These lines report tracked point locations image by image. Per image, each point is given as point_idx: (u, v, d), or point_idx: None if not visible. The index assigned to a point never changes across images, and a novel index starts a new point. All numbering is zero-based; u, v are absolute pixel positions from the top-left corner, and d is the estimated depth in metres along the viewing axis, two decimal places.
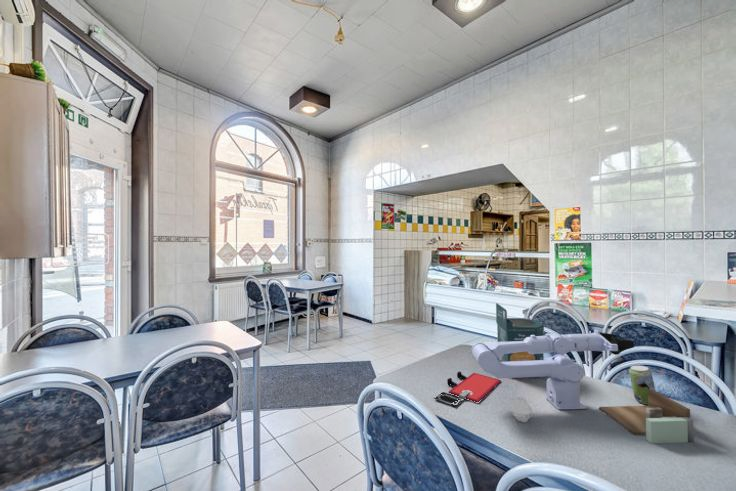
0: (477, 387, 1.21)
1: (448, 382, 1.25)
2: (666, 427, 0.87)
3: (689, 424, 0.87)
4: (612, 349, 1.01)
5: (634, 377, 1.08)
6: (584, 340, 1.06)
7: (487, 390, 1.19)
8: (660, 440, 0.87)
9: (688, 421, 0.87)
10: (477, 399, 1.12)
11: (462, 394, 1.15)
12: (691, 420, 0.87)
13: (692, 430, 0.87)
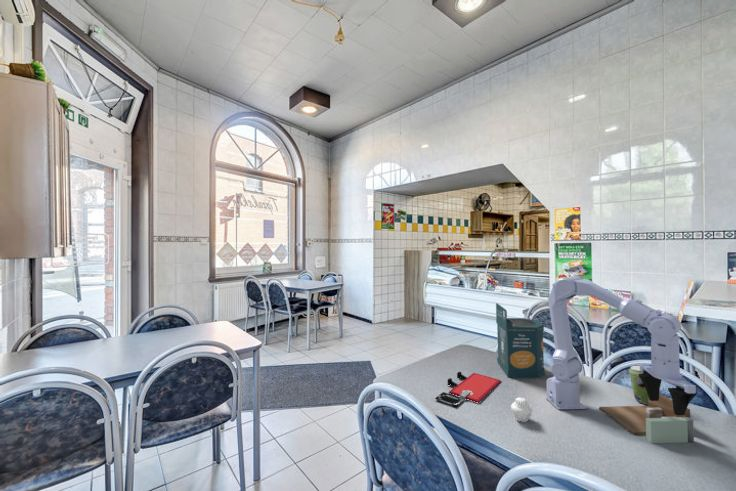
0: (477, 387, 1.21)
1: (448, 382, 1.25)
2: (666, 427, 0.87)
3: (689, 424, 0.87)
4: (689, 386, 0.81)
5: (634, 377, 1.08)
6: (669, 358, 0.85)
7: (487, 390, 1.19)
8: (660, 440, 0.87)
9: (688, 421, 0.87)
10: (477, 399, 1.12)
11: (462, 394, 1.15)
12: (691, 420, 0.87)
13: (692, 430, 0.87)
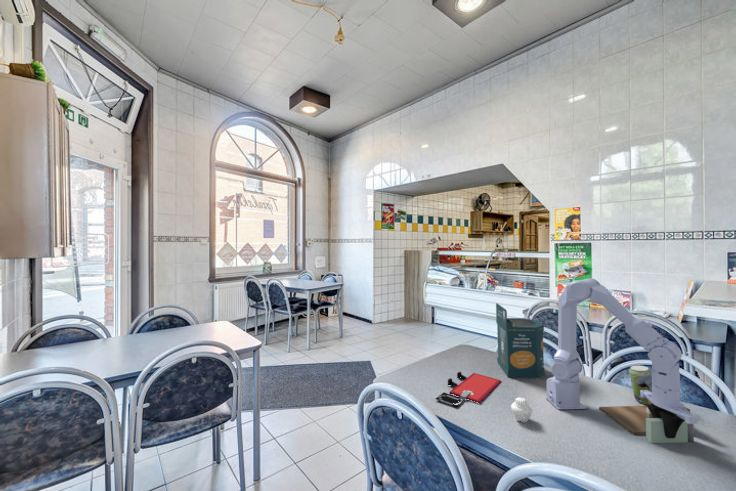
0: (478, 387, 1.21)
1: (448, 382, 1.25)
2: None
3: (689, 424, 0.87)
4: (690, 417, 0.81)
5: (634, 377, 1.08)
6: (670, 386, 0.85)
7: (488, 390, 1.19)
8: (660, 440, 0.87)
9: None
10: (478, 399, 1.12)
11: (463, 394, 1.14)
12: None
13: (692, 430, 0.87)
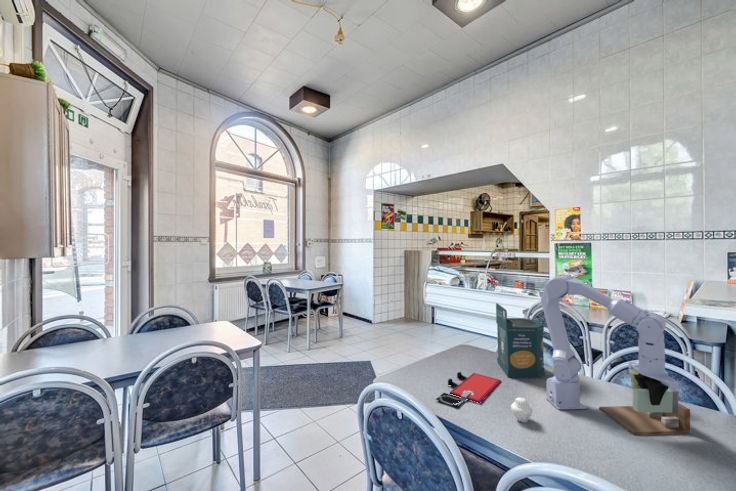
0: (478, 387, 1.21)
1: (449, 383, 1.24)
2: None
3: (675, 395, 0.91)
4: (673, 383, 0.85)
5: None
6: (656, 356, 0.89)
7: (488, 390, 1.18)
8: (646, 409, 0.91)
9: (673, 392, 0.91)
10: (479, 399, 1.12)
11: (463, 395, 1.14)
12: (676, 392, 0.91)
13: (677, 401, 0.91)
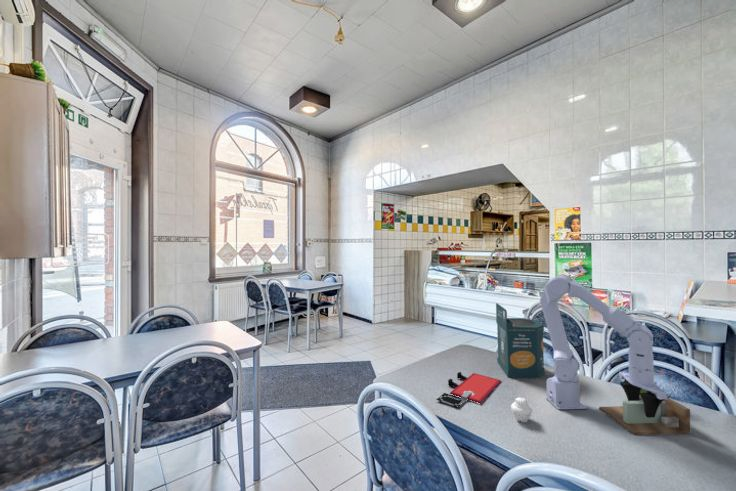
0: (478, 387, 1.21)
1: (449, 383, 1.24)
2: (641, 409, 0.95)
3: (662, 406, 0.95)
4: (661, 393, 0.89)
5: None
6: (647, 367, 0.93)
7: (488, 390, 1.18)
8: (635, 421, 0.95)
9: (661, 403, 0.95)
10: (479, 400, 1.11)
11: (464, 395, 1.14)
12: (664, 402, 0.95)
13: (665, 411, 0.95)
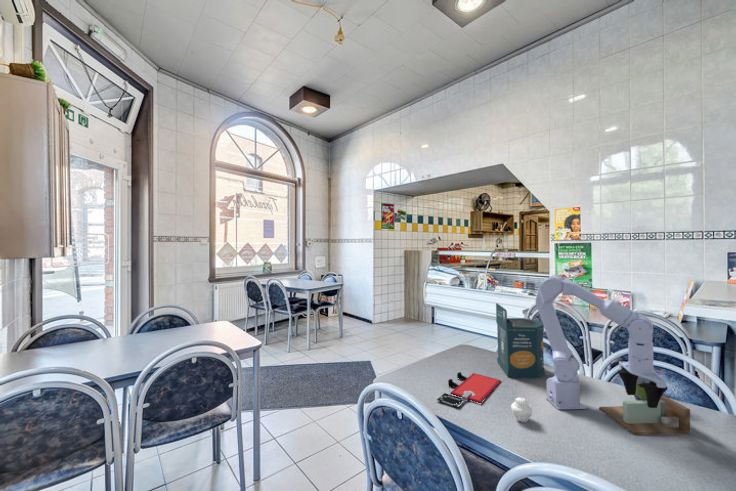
0: (478, 388, 1.21)
1: (449, 383, 1.24)
2: (641, 409, 0.95)
3: (662, 406, 0.95)
4: (660, 381, 0.89)
5: None
6: (646, 356, 0.93)
7: (488, 390, 1.18)
8: (635, 421, 0.95)
9: (661, 403, 0.95)
10: (480, 400, 1.11)
11: (464, 395, 1.14)
12: (664, 402, 0.95)
13: (665, 411, 0.95)
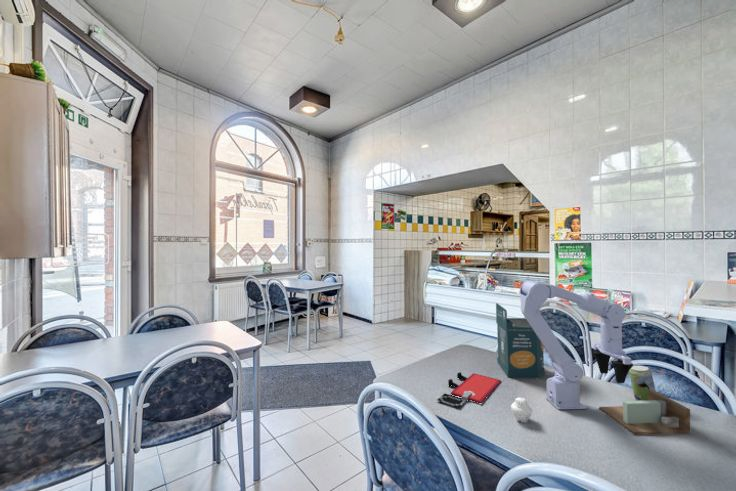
0: (478, 388, 1.21)
1: (449, 383, 1.24)
2: (641, 409, 0.95)
3: (662, 406, 0.95)
4: (626, 359, 1.00)
5: (634, 377, 1.08)
6: (620, 336, 1.04)
7: (489, 390, 1.18)
8: (635, 421, 0.95)
9: (661, 403, 0.95)
10: (480, 400, 1.11)
11: (464, 395, 1.14)
12: (664, 402, 0.95)
13: (665, 411, 0.95)
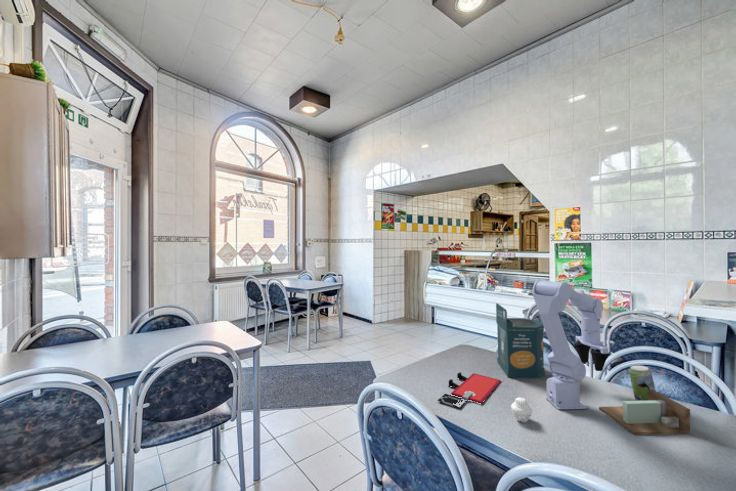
0: (479, 388, 1.21)
1: (449, 383, 1.24)
2: (641, 409, 0.95)
3: (662, 406, 0.95)
4: (603, 348, 1.10)
5: (634, 377, 1.08)
6: None
7: (489, 391, 1.18)
8: (635, 421, 0.95)
9: (661, 403, 0.95)
10: (480, 400, 1.11)
11: (465, 395, 1.14)
12: (664, 402, 0.95)
13: (665, 411, 0.95)
